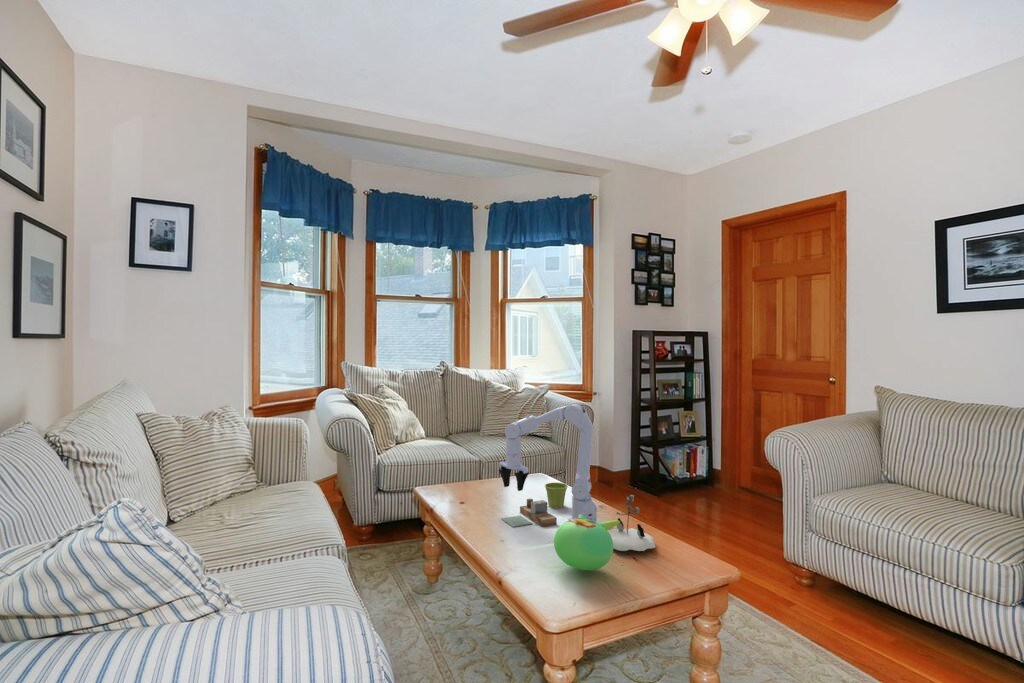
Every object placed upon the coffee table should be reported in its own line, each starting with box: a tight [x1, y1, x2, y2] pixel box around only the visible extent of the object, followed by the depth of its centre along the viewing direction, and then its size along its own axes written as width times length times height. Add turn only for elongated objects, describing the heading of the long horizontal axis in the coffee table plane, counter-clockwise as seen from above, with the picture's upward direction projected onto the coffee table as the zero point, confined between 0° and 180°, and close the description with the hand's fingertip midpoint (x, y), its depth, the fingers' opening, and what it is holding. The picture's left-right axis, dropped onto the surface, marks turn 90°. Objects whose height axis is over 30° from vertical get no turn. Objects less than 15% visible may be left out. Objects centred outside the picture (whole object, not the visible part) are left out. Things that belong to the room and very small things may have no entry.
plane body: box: [519, 498, 558, 528], centre depth 203 cm, size 18×6×6 cm, turn 26°
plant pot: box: [544, 482, 569, 509], centre depth 218 cm, size 9×9×9 cm
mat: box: [501, 515, 533, 528], centre depth 199 cm, size 10×8×1 cm
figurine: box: [607, 494, 657, 552], centre depth 178 cm, size 20×18×16 cm
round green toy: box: [553, 514, 620, 571], centre depth 158 cm, size 18×17×15 cm
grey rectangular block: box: [531, 499, 548, 515], centre depth 202 cm, size 3×5×4 cm, turn 119°
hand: (513, 488), depth 208 cm, fingers open, 7 cm apart
